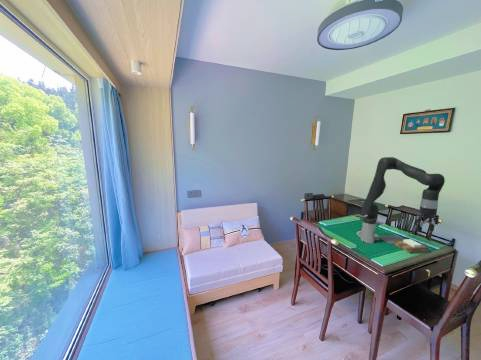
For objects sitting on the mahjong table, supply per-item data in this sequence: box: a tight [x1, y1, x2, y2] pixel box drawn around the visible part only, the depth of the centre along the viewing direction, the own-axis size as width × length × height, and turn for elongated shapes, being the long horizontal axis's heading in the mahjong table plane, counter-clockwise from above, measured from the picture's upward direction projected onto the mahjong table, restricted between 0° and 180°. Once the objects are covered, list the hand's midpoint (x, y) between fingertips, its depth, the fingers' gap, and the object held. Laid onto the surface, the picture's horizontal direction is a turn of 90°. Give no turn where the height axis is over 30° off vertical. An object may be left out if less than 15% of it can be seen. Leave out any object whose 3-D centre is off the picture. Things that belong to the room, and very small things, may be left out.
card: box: [403, 238, 423, 247], centre depth 150 cm, size 9×6×2 cm, turn 4°
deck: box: [394, 240, 429, 254], centre depth 151 cm, size 14×14×4 cm
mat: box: [376, 234, 405, 245], centre depth 167 cm, size 14×20×1 cm
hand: (424, 231), depth 118 cm, fingers open, 8 cm apart
